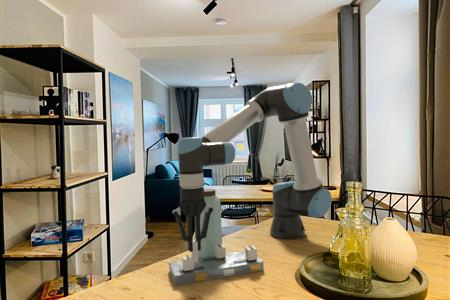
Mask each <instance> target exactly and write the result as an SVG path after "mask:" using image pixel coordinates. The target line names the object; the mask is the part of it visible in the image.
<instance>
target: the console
mask: <svg viewBox="0 0 450 300" xmlns="http://www.w3.org/2000/svg"><path fill="white" fill-rule="evenodd" d="M168 265H169V273H170V275H171V278H172V281H173V283H174V285H175V287H177V286H182V285H189V284H194V283H199V282H201V283H202V282H206V281H212V280H217V279H223V278H228V277H235V276H240V275H241V276H242V275H246V274H247V275H248V274H251V273H259V272H263V271H264V270H265V269H264V268H265V267H264V265H265V264H264V261H263V260H262V259H261V258H259V256H257V259H256V260H250V261H249V260H248V259H247V258H246V257H245V250H241V251H236V252H229V253H226V257H224V258H216V256H215V255H214V256H208V257H201V258H198V262H196V263H194V270H187V271H184V269H183V261H182V259H181V260H175V261H169V262H168Z"/></svg>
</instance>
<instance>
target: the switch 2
mask: <svg viewBox="0 0 450 300" xmlns="http://www.w3.org/2000/svg"><path fill="white" fill-rule="evenodd" d="M226 251H227V250H226V246H225V245H224V244H223V243H222V245H220V244H218V245H215V256H216V258H224V257H226V254H227V253H226Z"/></svg>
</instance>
